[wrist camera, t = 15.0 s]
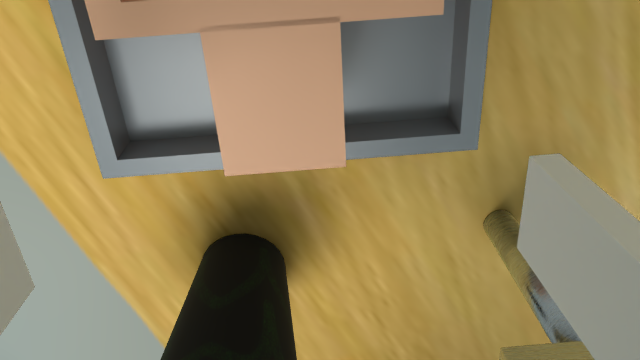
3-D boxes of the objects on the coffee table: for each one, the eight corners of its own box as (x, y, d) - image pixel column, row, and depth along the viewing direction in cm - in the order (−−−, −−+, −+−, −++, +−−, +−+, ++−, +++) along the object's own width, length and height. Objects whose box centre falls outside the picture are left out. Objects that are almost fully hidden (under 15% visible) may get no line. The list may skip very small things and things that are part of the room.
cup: (172, 228, 32) (113, 387, 21) (291, 212, 32) (291, 364, 21) (201, 317, 36) (162, 490, 25) (307, 303, 35) (314, 471, 25)
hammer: (512, 234, 33) (619, 394, 22) (437, 240, 33) (508, 403, 22) (515, 208, 32) (630, 363, 21) (438, 215, 32) (514, 372, 21)
